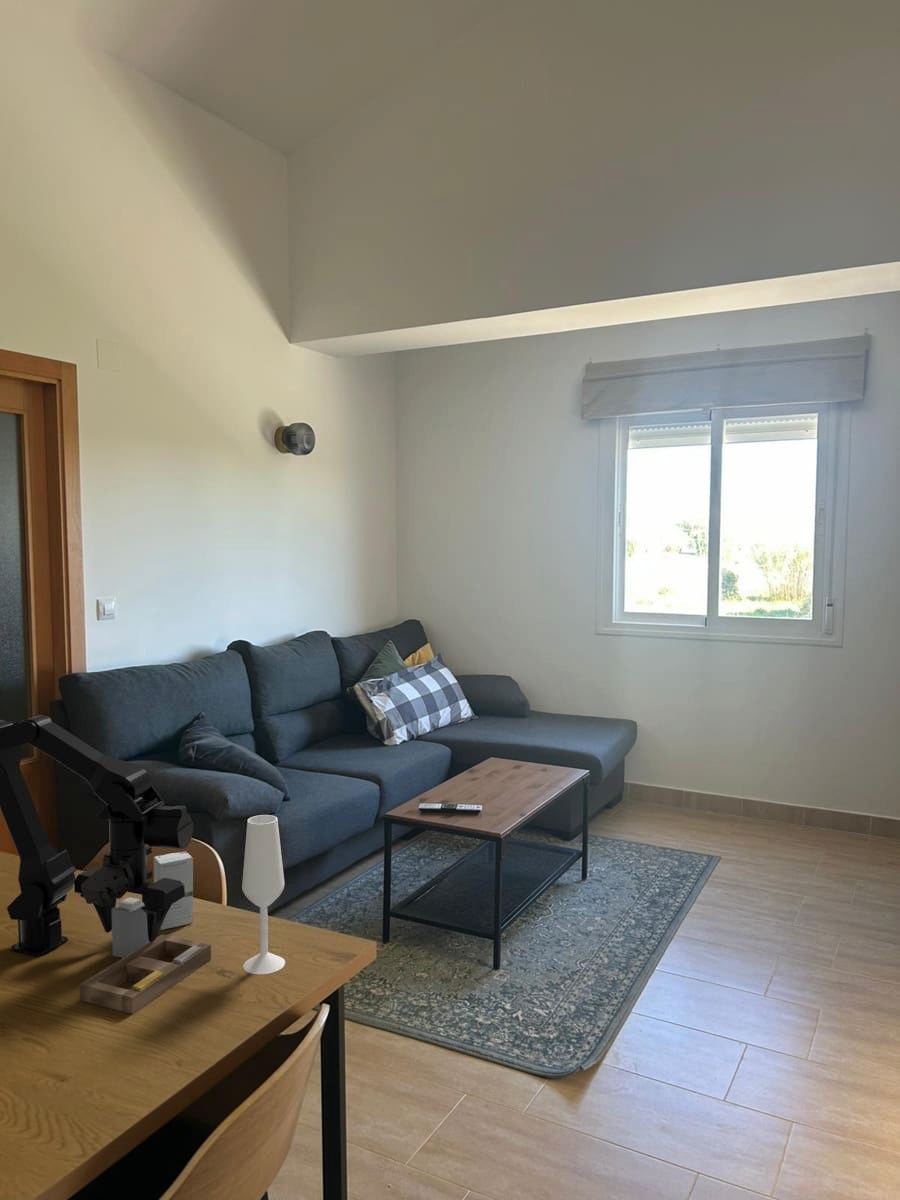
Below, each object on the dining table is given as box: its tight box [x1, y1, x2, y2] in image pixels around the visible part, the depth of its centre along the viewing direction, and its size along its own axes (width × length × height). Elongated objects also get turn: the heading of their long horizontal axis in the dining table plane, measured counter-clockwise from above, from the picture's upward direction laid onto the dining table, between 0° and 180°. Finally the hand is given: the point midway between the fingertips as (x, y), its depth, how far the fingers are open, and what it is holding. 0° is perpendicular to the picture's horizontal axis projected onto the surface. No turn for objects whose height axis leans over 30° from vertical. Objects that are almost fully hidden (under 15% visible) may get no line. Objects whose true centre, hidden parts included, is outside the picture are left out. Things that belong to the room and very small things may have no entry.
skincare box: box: [153, 851, 194, 931], centre depth 157 cm, size 6×4×12 cm
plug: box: [111, 897, 149, 959], centre depth 146 cm, size 4×4×9 cm
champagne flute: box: [241, 814, 286, 975], centre depth 141 cm, size 7×7×24 cm
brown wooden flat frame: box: [79, 934, 212, 1015], centre depth 137 cm, size 10×18×3 cm, turn 158°
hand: (130, 936), depth 146 cm, fingers open, 9 cm apart
